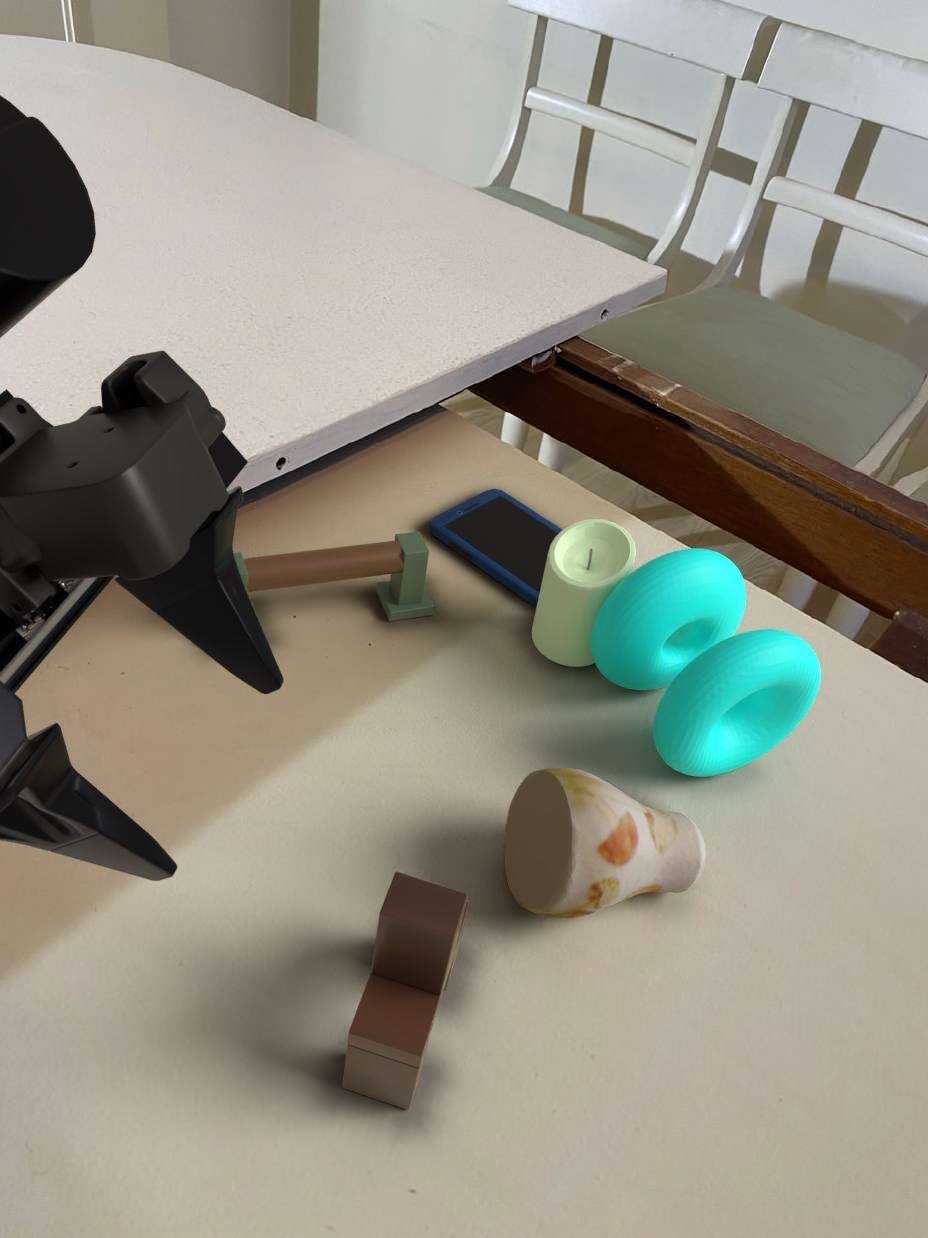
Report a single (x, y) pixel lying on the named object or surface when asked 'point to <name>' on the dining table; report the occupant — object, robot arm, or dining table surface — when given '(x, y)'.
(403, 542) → the stand
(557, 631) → the candle
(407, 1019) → the brown stepped block
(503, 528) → the cell phone
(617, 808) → the flowered bud vase
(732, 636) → the donuts
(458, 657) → the dining table surface
